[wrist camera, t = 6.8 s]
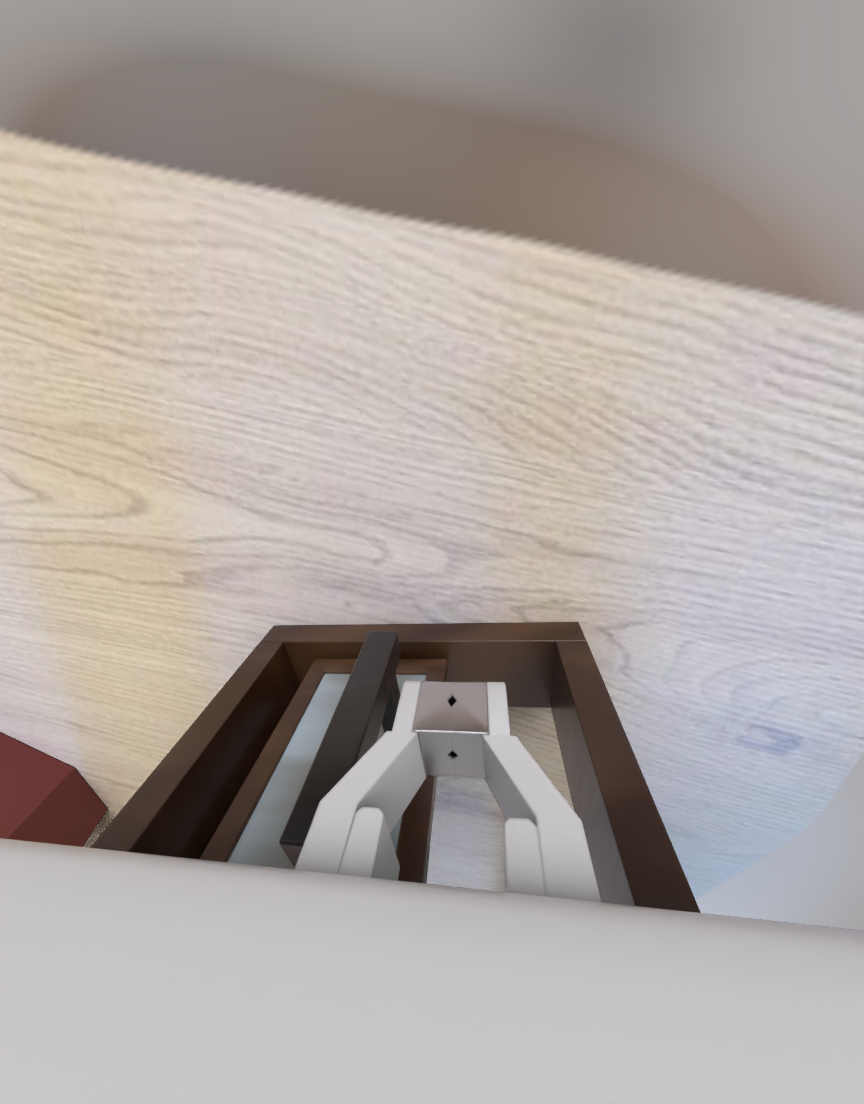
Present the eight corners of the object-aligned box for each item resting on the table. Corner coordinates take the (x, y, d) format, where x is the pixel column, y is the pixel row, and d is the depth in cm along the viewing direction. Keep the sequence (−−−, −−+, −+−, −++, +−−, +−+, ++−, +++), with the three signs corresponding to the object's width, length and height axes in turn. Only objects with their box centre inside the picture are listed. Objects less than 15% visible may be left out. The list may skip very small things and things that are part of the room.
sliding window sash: (438, 585, 16) (371, 940, 6) (448, 668, 18) (412, 1022, 8) (290, 589, 17) (23, 891, 7) (318, 667, 19) (147, 975, 9)
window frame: (578, 621, 18) (900, 1382, 4) (571, 687, 20) (770, 1330, 7) (273, 625, 21) (-116, 1095, 7) (296, 682, 23) (33, 1125, 9)
